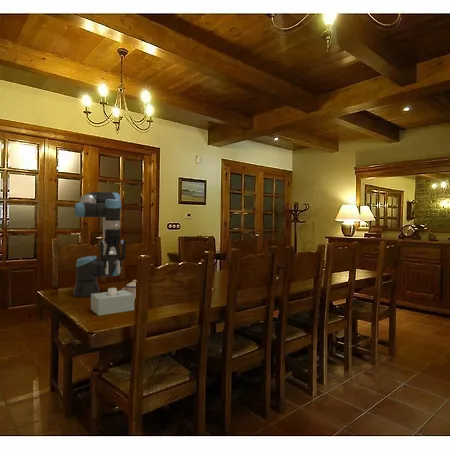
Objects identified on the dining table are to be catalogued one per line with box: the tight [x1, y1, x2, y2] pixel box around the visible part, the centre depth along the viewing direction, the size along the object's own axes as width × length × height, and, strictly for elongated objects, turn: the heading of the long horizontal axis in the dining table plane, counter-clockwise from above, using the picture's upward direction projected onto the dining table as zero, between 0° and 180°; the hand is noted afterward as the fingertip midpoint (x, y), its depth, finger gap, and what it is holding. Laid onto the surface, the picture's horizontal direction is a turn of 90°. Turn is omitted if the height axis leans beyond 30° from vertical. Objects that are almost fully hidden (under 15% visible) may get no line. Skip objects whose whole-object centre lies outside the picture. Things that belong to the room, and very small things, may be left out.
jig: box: [90, 289, 135, 317], centre depth 176 cm, size 14×18×8 cm
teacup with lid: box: [121, 279, 137, 303], centre depth 197 cm, size 12×9×12 cm
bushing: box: [107, 287, 118, 296], centre depth 176 cm, size 4×4×11 cm
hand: (112, 273), depth 176 cm, fingers open, 5 cm apart
